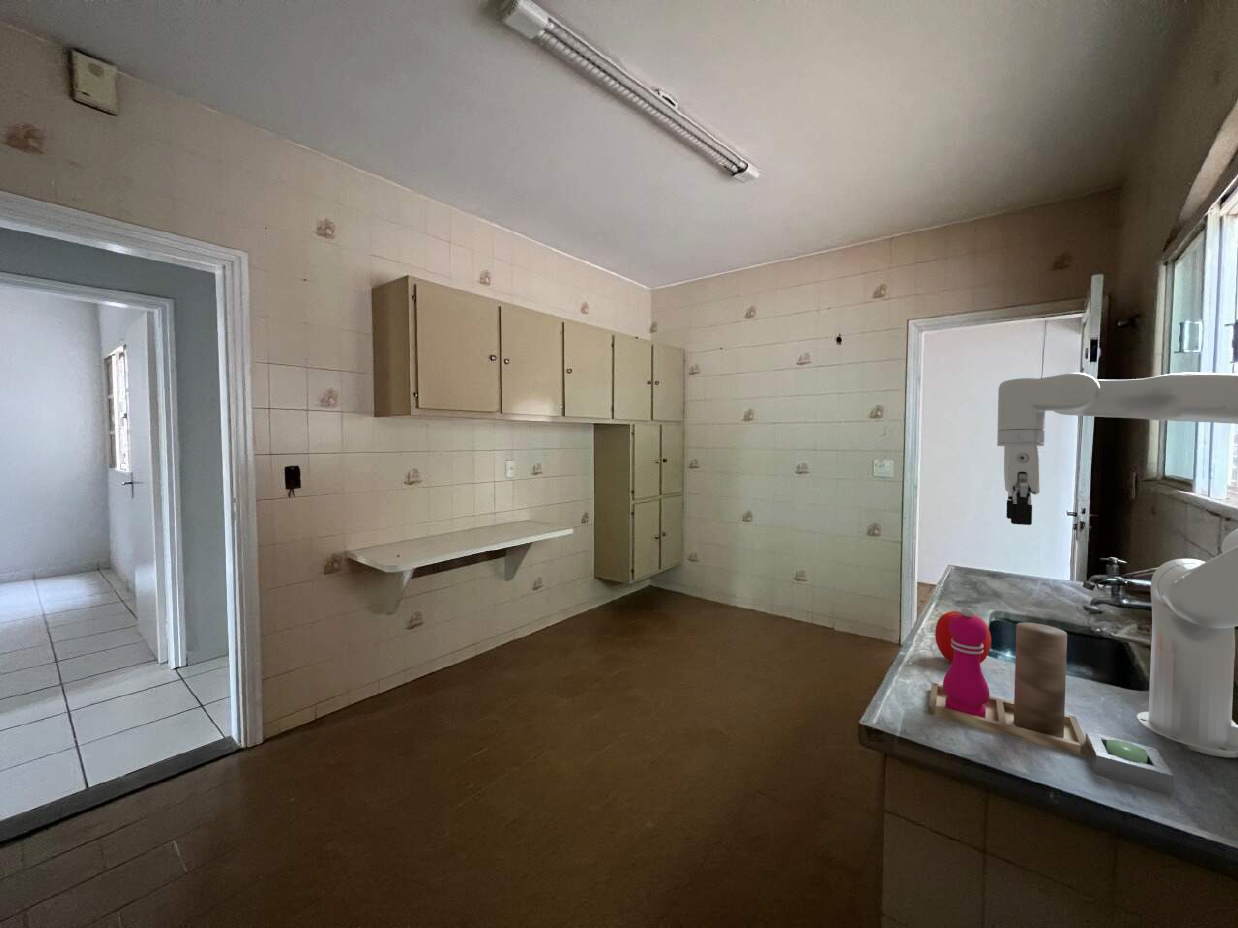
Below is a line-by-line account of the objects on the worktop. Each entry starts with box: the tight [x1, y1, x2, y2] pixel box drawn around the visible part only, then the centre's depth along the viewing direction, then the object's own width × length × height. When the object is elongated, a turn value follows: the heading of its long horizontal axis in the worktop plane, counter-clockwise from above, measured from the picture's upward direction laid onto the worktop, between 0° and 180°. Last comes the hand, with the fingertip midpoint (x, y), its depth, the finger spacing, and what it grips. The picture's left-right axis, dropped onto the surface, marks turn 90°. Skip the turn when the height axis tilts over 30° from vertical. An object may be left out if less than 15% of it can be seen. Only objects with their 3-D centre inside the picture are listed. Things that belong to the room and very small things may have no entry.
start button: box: [1106, 739, 1147, 764], centre depth 76 cm, size 4×4×4 cm
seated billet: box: [1013, 622, 1068, 738], centre depth 87 cm, size 7×7×18 cm
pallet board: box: [928, 682, 1089, 758], centre depth 90 cm, size 22×12×2 cm, turn 55°
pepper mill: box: [942, 607, 991, 718], centre depth 92 cm, size 7×7×20 cm
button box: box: [1085, 730, 1174, 797], centre depth 76 cm, size 8×8×4 cm
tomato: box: [934, 610, 992, 664], centre depth 115 cm, size 11×11×13 cm
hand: (1018, 521), depth 101 cm, fingers open, 9 cm apart
